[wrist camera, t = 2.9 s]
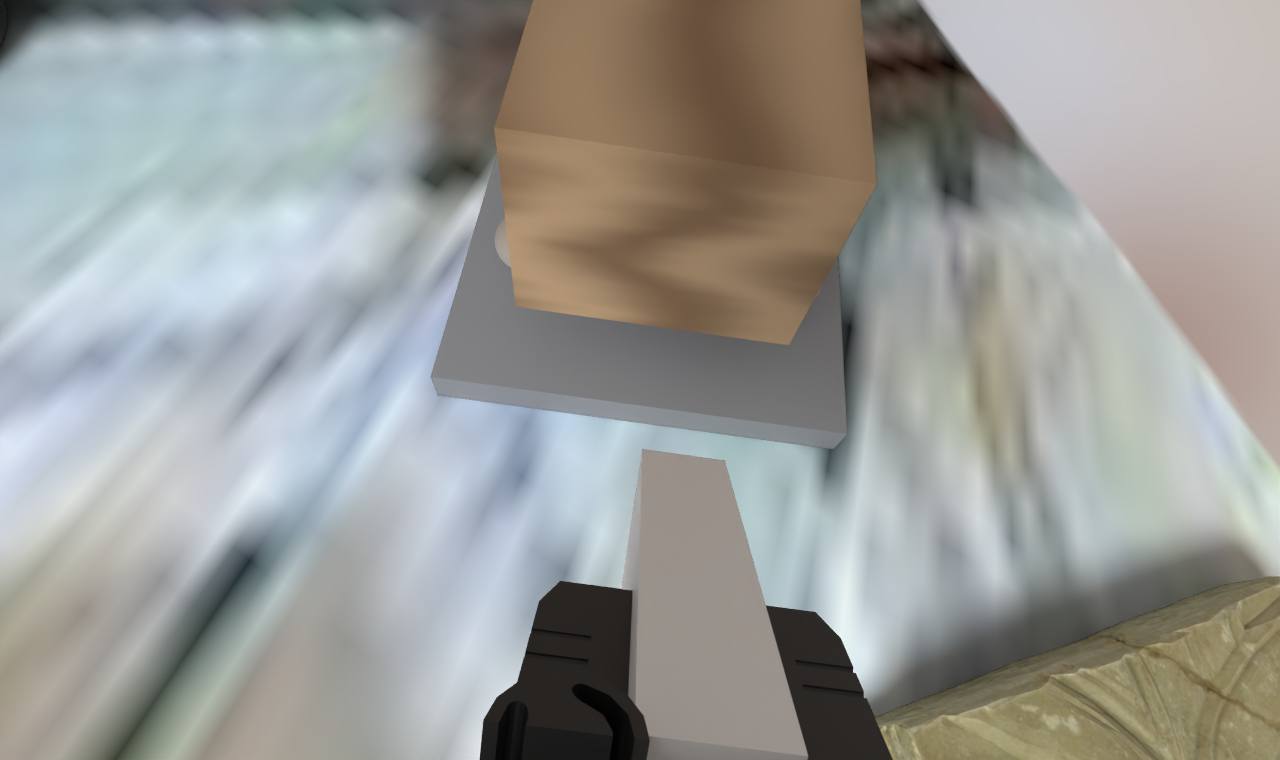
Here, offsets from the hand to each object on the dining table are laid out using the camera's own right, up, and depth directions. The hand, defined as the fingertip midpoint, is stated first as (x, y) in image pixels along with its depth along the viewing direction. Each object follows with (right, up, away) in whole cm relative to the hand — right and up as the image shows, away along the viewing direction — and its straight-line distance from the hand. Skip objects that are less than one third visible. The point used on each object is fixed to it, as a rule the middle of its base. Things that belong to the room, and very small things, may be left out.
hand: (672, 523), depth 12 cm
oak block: (0, +9, +17) cm, 19 cm away
